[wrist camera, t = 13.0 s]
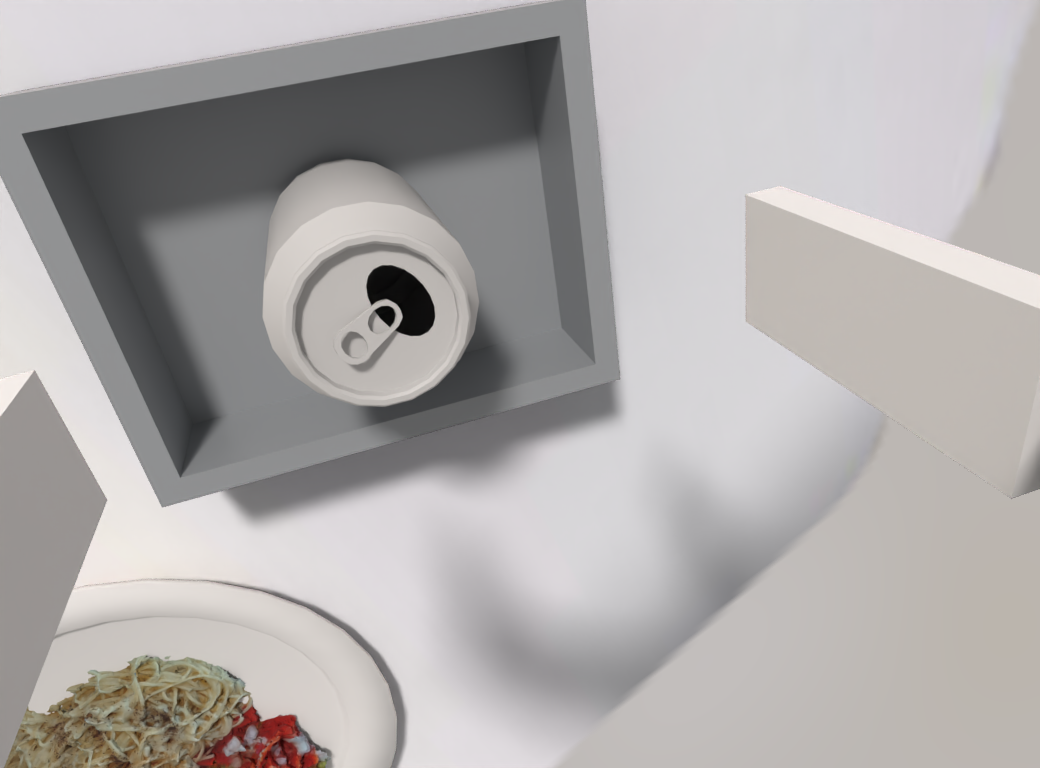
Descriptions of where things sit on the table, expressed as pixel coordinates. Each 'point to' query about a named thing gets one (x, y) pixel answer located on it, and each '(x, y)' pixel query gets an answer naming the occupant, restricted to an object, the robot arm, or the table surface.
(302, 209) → the can
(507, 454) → the table surface
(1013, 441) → the robot arm
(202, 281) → the bin
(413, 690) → the table surface
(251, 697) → the plated food
